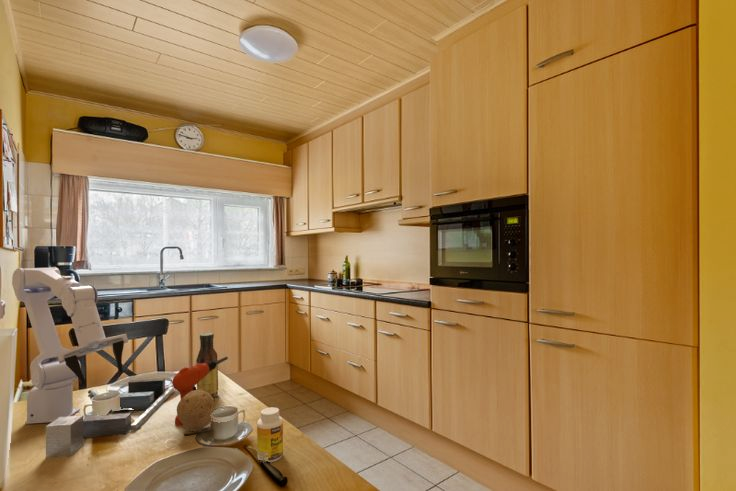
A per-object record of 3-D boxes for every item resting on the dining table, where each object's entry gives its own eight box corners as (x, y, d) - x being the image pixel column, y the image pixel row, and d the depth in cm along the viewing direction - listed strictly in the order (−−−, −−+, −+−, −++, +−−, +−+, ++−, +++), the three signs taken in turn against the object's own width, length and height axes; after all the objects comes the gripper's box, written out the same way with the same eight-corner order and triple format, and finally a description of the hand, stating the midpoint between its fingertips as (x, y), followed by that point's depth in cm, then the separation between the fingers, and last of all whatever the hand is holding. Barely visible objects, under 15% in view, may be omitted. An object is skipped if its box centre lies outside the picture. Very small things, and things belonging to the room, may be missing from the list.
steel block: (45, 458, 86) (45, 426, 86) (60, 446, 91) (60, 416, 91) (70, 455, 87) (70, 424, 87) (83, 444, 91) (83, 415, 92)
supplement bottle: (271, 466, 81) (270, 417, 81) (251, 460, 84) (251, 412, 84) (288, 454, 86) (288, 408, 86) (269, 448, 89) (269, 403, 89)
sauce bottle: (202, 393, 124) (202, 331, 125) (221, 393, 124) (221, 331, 124) (192, 400, 118) (192, 335, 118) (212, 400, 118) (212, 335, 118)
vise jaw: (112, 411, 110) (112, 394, 110) (131, 396, 122) (131, 380, 122) (149, 409, 111) (149, 391, 111) (165, 394, 123) (165, 378, 123)
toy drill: (237, 396, 117) (232, 349, 115) (183, 430, 100) (177, 375, 99) (225, 394, 119) (220, 347, 117) (171, 427, 102) (164, 372, 101)
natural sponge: (185, 422, 103) (184, 385, 103) (219, 420, 104) (219, 383, 104) (171, 439, 94) (171, 397, 94) (209, 436, 95) (208, 396, 95)
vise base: (73, 438, 95) (73, 421, 95) (128, 394, 124) (128, 381, 124) (133, 433, 97) (133, 417, 97) (173, 391, 126) (173, 379, 126)
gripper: (51, 333, 92) (65, 387, 88) (121, 314, 101) (136, 362, 97) (54, 342, 97) (67, 393, 93) (120, 323, 106) (135, 369, 102)
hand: (103, 378), depth 96 cm, fingers open, 7 cm apart
